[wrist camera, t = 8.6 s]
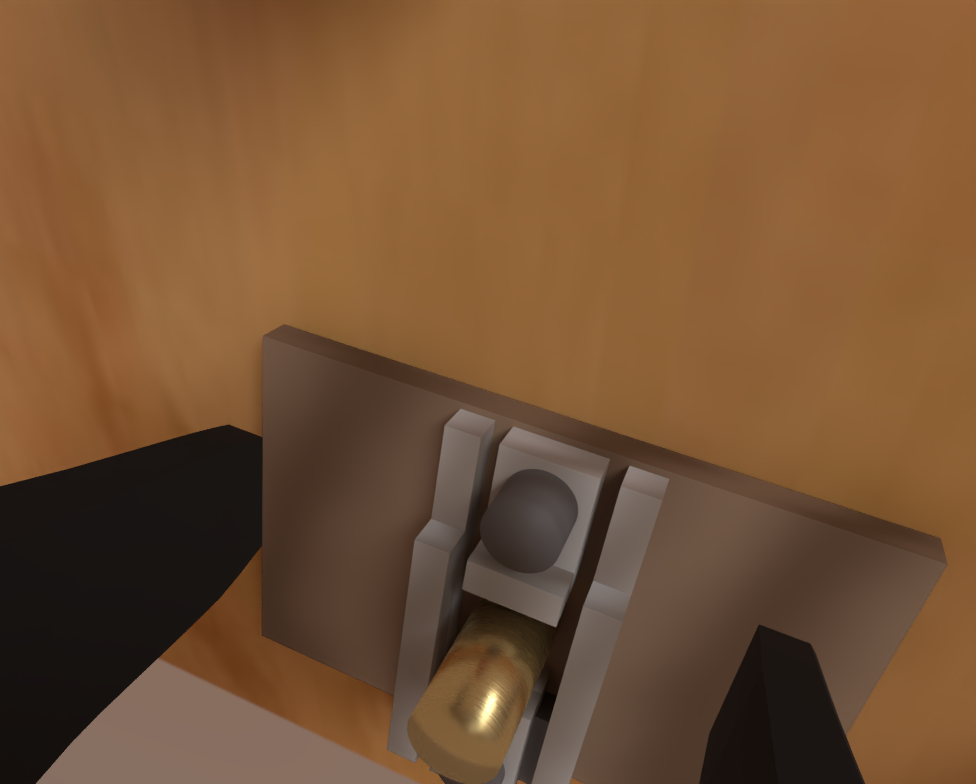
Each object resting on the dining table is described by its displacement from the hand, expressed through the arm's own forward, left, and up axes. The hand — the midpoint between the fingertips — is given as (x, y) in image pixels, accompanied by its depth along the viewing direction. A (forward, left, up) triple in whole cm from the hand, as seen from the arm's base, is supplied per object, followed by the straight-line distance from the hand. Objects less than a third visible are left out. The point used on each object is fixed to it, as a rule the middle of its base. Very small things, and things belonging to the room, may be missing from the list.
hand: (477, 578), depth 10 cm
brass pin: (+6, +6, -8) cm, 12 cm away
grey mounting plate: (+6, +6, -9) cm, 13 cm away
